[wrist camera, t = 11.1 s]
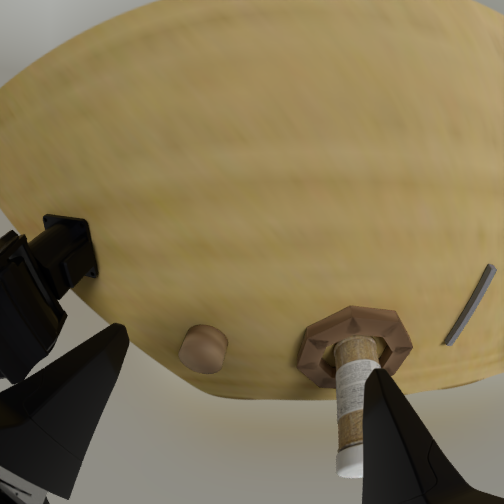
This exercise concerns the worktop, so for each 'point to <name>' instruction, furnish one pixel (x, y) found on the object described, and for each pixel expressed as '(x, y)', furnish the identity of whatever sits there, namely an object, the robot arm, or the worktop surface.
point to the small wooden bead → (203, 349)
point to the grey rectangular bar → (471, 304)
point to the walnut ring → (344, 327)
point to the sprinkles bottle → (352, 399)
